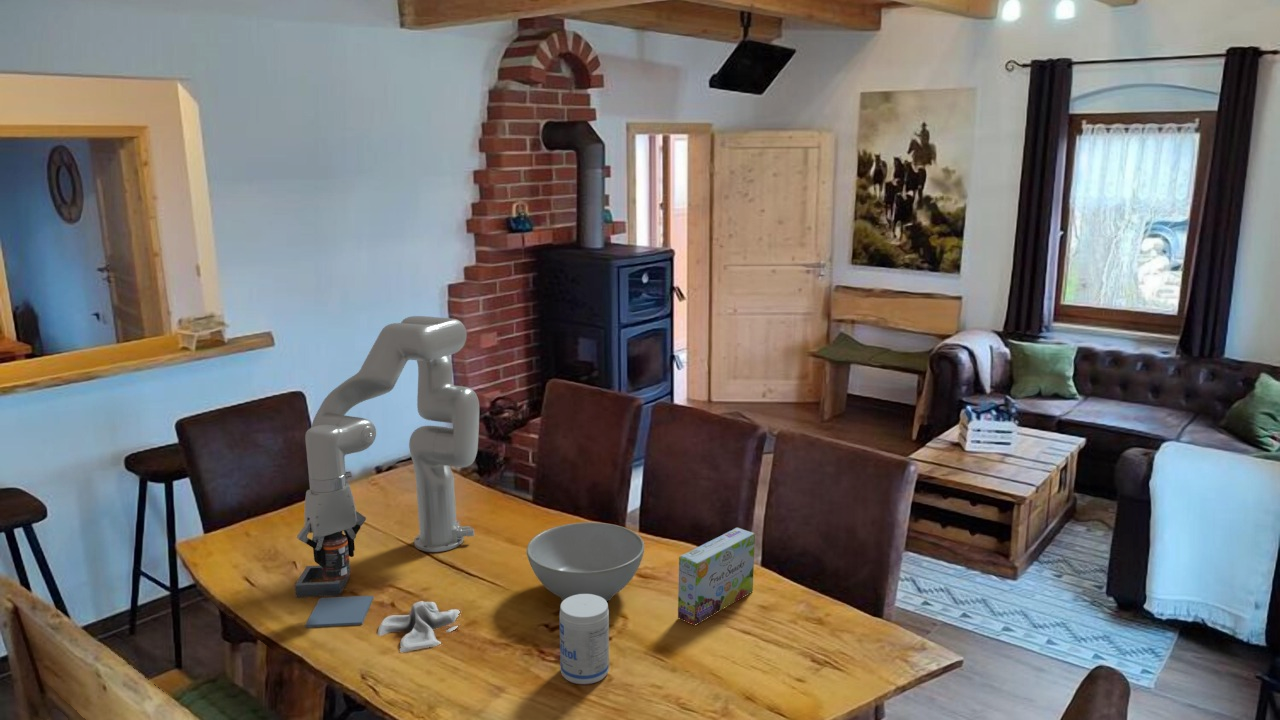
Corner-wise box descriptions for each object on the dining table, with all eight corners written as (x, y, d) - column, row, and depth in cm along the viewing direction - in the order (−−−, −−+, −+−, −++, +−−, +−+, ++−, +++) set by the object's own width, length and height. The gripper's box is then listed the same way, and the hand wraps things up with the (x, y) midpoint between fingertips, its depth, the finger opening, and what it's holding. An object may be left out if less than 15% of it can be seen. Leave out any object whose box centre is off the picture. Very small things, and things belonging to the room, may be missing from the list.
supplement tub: (550, 674, 178) (548, 606, 175) (584, 653, 185) (582, 587, 182) (586, 692, 172) (584, 622, 169) (619, 670, 179) (618, 602, 176)
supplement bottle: (353, 578, 199) (348, 530, 197) (325, 584, 197) (320, 536, 194) (347, 567, 205) (343, 520, 202) (320, 573, 202) (315, 526, 199)
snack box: (696, 628, 195) (697, 563, 191) (676, 619, 198) (676, 555, 195) (754, 592, 210) (756, 531, 206) (735, 584, 213) (736, 525, 210)
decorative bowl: (504, 596, 209) (502, 547, 206) (588, 557, 228) (587, 512, 225) (585, 637, 191) (583, 585, 188) (668, 592, 210) (668, 543, 207)
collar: (350, 575, 220) (349, 564, 219) (340, 595, 210) (339, 583, 210) (307, 577, 219) (306, 566, 219) (295, 597, 210) (294, 585, 209)
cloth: (416, 663, 183) (414, 635, 182) (358, 635, 194) (355, 609, 193) (494, 617, 201) (493, 591, 200) (437, 594, 212) (435, 569, 210)
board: (373, 597, 209) (373, 595, 209) (362, 624, 197) (361, 622, 197) (320, 600, 208) (319, 598, 208) (305, 627, 196) (305, 624, 196)
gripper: (356, 468, 204) (363, 542, 208) (281, 488, 192) (289, 567, 196) (373, 476, 199) (379, 552, 203) (296, 497, 187) (304, 578, 191)
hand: (335, 559), depth 200 cm, fingers closed on supplement bottle, 6 cm apart
